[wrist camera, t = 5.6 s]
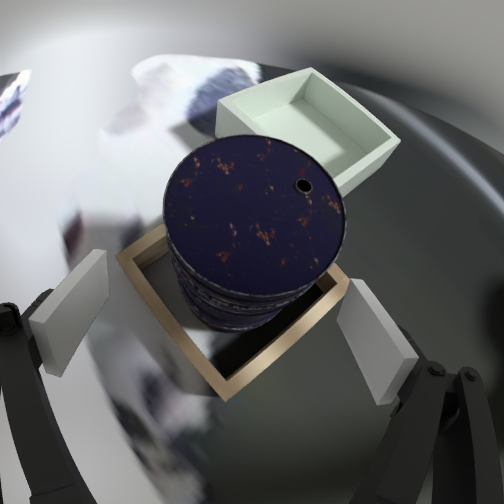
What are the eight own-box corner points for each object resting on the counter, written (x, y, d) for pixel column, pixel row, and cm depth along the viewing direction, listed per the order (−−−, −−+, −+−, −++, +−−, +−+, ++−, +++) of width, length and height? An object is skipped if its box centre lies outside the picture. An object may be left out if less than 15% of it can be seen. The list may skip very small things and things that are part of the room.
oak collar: (243, 188, 33) (247, 169, 30) (339, 294, 30) (354, 285, 27) (124, 269, 28) (114, 256, 24) (222, 397, 25) (225, 401, 21)
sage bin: (300, 97, 41) (311, 67, 35) (380, 167, 38) (400, 140, 32) (214, 135, 35) (217, 100, 30) (304, 227, 32) (324, 198, 27)
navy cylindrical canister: (209, 352, 26) (211, 337, 12) (165, 260, 29) (135, 165, 15) (301, 305, 29) (381, 247, 15) (254, 222, 32) (289, 118, 18)
